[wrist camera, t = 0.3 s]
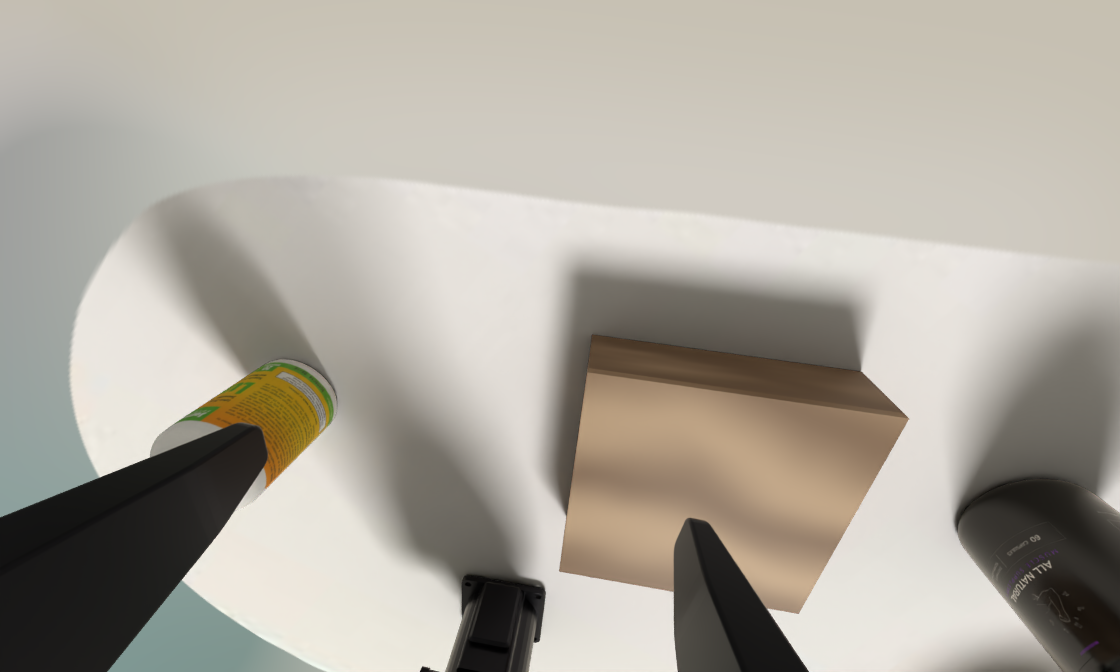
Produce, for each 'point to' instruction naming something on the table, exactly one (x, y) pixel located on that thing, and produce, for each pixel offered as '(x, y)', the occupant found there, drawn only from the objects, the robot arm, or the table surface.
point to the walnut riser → (720, 463)
